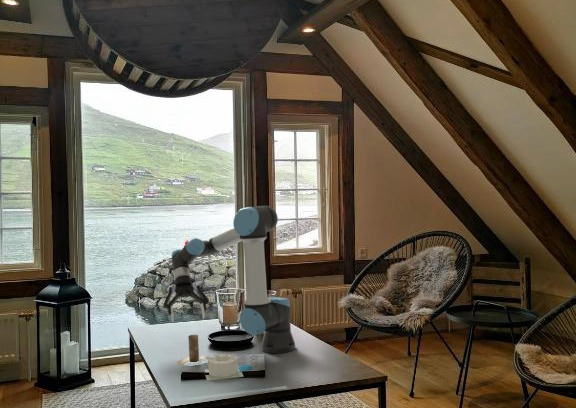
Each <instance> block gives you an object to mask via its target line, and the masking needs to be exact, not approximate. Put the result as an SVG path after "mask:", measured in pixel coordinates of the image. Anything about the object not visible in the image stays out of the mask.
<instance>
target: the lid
mask: <svg viewBox="0 0 576 408" xmlns="http://www.w3.org/2000/svg"><path fill="white" fill-rule="evenodd" d="M187 337H188V338H187V339H188V355H189V356H187V357H182V358H181V359H179V360H178V361H177V363H176V364H177V365H179V366H181V367H185V366H184V364H185V363H186V362H188V361H190V362H197V361H199V359H204V358H205V359H209V358H210V357H208V356H205V355H200V352H199V349H200V348H199V335H198V334H190V335H188V336H187Z"/></svg>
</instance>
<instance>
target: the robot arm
mask: <svg viewBox="0 0 576 408" xmlns="http://www.w3.org/2000/svg"><path fill="white" fill-rule="evenodd" d="M278 219H279V218H278V213H277V212H276V210H275V209H274V208H272V207H270V206H269V205H257V206H248V207H243V208H240V209H239V210H238V211H237V212H236V213H235V214H234V217H233V222H232V223H233V226H232V227H231V228H228V229H227V230H225V231H223V232H221V233H219V234H217V235H215V236H213V237H211V238H209V239H206V240H205V239H204V240H202V239H200V238H197V237H194V238H192V239H190V240H189V241H187V243H186V245H184V246H183V247H182V248H179V249H178V248H177V249H175V250H174V251H172V253H171V265H172V270H173V271H172V272H173V279H174V286H175V287H174V288H172V287H169V288H168V294H167V295H166V298H165V300H164V302H163V305H162V307H163V309H167V314H168V315H169V316H170V319H171V322H172V323H174V322H175V317H174V308H173V306H174V304H175V303H177V301H178V300H179V299H180V298H188V297H190V298H192V299H194V301H197V303H199V305H200V309H201V314H202V315H201V316H202V319H203V320H204V319H205V318H206V313H205V312H207V305H209V303H210V299H209V298H208V297H207V295H206V294H205V293H204V292H203V290H202V289H201V287H200V284H199V285H196V286H194V285H193V283H192V278H191V272H190V264H191V263H193V262H194V260H196V259H197V258H203V257H207V256H212V255H213V256H214V255H215V256H216V255H218V254H220V253H221V252H223V250H225V249H227V248H230V247H232V246H234V245H236V244H238V243H240V242H242V243H243V252H244V253H243V254H244V268H245V282H246V283H245V284H246V300H245V301H244V302H243V306H244V307H243V308H244V309H243V310H242V311H241V312H240V314H239V323H240V326H241V328H242V329H243V330H244V331H245V332H246V333H247V334H249V335H254V336H257V335H261V334H263V333H264V334H263V338H262V342H261V351H262V352H264V353H268V354H284V353H289V352H292V351H294V350H296V342H295V339H294V336H293V334H292V330H291V305H290V300H289V299H288V298H286V297H276V296H275V297H274V296H273V297H272V296H271V297H268V290H267V288H268V287H267V273H266V259H265V240H266V239H267V238H268V234H267V233H268V232H271V231H273V230H274V229H275V228H276V226H277V225H278ZM174 293H176V294H175V295H174V297H173V298H172V299H171V297H172V294H174ZM170 299H171V300H170Z"/></svg>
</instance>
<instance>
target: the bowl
mask: <svg viewBox="0 0 576 408" xmlns="http://www.w3.org/2000/svg"><path fill="white" fill-rule="evenodd" d="M238 366H239V364H238V357H237V356H236V355H233V354H225V353H224V354H216V355H213V356H210V357H209V359H208V363H207V367H208V368H207V369H208V370H209V375H210V376H212V377H219V378H221V377H229V376H233V375H235V374H236V373H237V371H238Z"/></svg>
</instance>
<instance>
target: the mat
mask: <svg viewBox="0 0 576 408" xmlns="http://www.w3.org/2000/svg"><path fill="white" fill-rule="evenodd" d="M241 377H242V378H244V375H243V372H242V371H241V372H237V373H236V374H235V375H233V376H229V377H221V378H219V377H212V376H210V375H205V378H206V381H217V380H225V379H226V380H227V379H233V378H234V379H235V378H241Z"/></svg>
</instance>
